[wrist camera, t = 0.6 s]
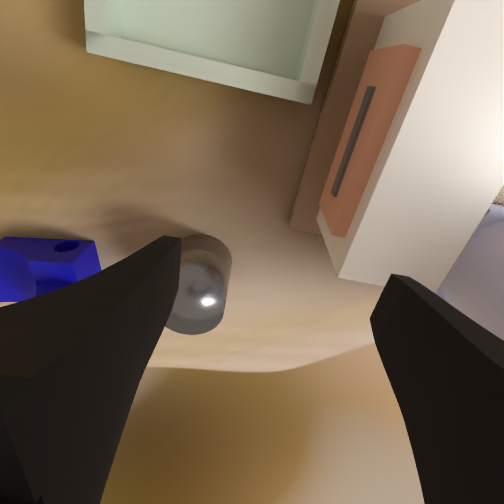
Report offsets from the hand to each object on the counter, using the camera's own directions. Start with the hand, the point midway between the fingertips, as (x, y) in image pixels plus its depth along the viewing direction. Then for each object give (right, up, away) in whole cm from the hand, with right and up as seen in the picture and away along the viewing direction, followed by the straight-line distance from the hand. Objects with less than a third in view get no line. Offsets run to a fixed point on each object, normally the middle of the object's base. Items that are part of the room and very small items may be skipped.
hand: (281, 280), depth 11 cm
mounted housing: (+5, +7, +6) cm, 11 cm away
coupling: (-4, 0, +11) cm, 12 cm away
